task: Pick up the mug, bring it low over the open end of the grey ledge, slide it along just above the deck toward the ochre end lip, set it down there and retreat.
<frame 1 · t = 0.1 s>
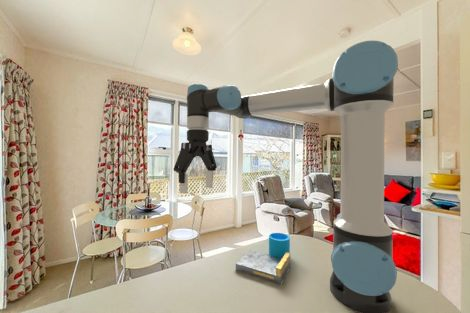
hand: (197, 190, 72), 28 cm above the table, fingers open, 13 cm apart
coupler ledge: (263, 268, 73), on the table
mug: (277, 255, 83), on the table
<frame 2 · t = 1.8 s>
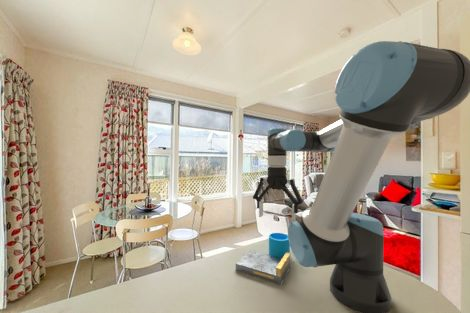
hand: (276, 218, 83), 15 cm above the table, fingers open, 13 cm apart
nothing on the table moved.
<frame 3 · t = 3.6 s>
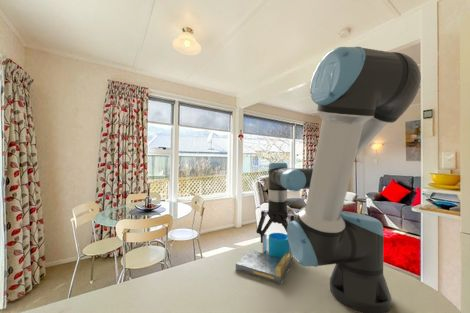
hand: (277, 253, 84), 0 cm above the table, fingers open, 10 cm apart
mug: (277, 255, 83), on the table, touching gripper
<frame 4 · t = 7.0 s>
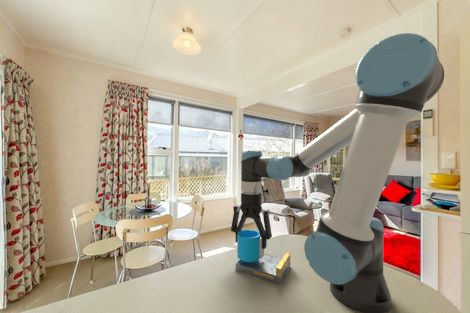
hand: (250, 253, 75), 4 cm above the table, fingers closed on mug, 8 cm apart
mug: (247, 254, 76), point 4 cm above the table, touching gripper
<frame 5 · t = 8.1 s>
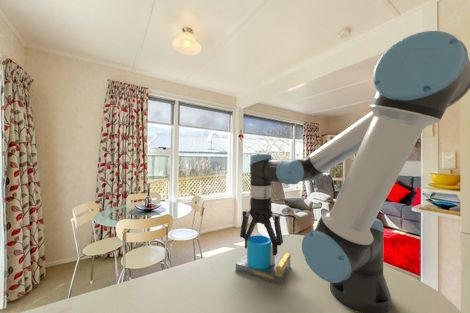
hand: (260, 260, 73), 3 cm above the table, fingers closed on mug, 8 cm apart
mug: (258, 260, 74), point 2 cm above the table, touching gripper
when the fingers open (3 cm above the table, at t = 9.4 s): mug stays where it is, resting on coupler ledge.
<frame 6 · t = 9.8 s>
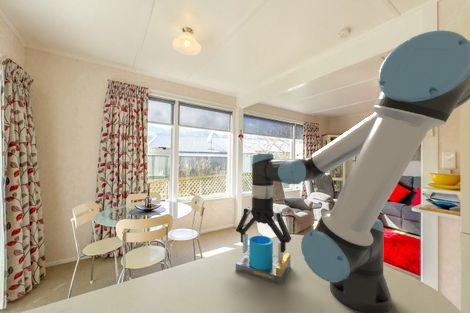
hand: (262, 256, 73), 4 cm above the table, fingers open, 13 cm apart
mug: (259, 261, 74), point 2 cm above the table, touching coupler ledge
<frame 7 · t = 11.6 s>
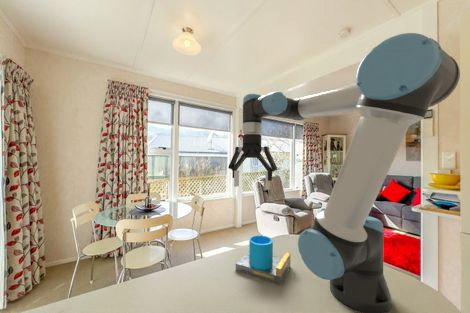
hand: (251, 187, 81), 28 cm above the table, fingers open, 13 cm apart
nothing on the table moved.
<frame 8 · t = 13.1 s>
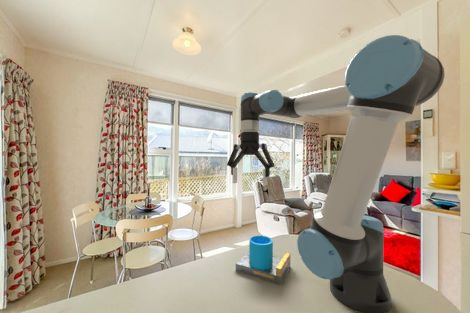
hand: (249, 184, 83), 29 cm above the table, fingers open, 13 cm apart
nothing on the table moved.
at the end: mug inside the target area on the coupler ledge (3.5 cm from its centre), point 2.3 cm above the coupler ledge's base; mug touching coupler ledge; mug tilted 0° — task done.
